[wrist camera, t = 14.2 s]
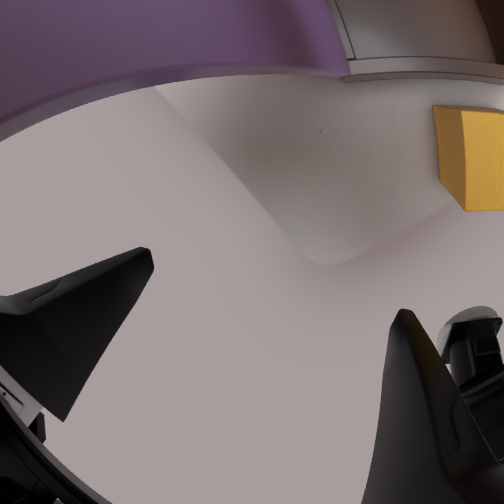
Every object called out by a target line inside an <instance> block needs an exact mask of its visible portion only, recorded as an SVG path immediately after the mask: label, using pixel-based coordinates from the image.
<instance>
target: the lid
mask: <svg viewBox="0 0 504 504" xmlns="http://www.w3.org/2000/svg"><path fill="white" fill-rule="evenodd" d="M252 74H292V75H312V76H324V77H335V78H337V77H343V76H350V75H351V71H350V68H349V64H348V61H347V58H346V54H345V51H344V48H343V45H342V42H341V39H340V36H339V33H338V30H337V27H336V25H335V22H334V19H333V17H332V14H331V11H330V9H329V6H328V4H327V1H326V0H0V142H1V141H3V140H5V139H6V138H8V137H10V136H12V135H14V134H16V133H18V132H20V131H22V130H24V129H26V128H28V127H30V126H32V125H34V124H36V123H39V122H41V121H43V120H45V119H48V118H50V117H52V116H55V115H57V114H60V113H62V112H65V111H68V110H70V109H73V108H76V107H78V106H81V105H84V104H87V103H90V102H93V101H97V100H99V99H103V98H106V97H110V96H113V95H117V94H121V93H125V92H129V91H132V90H136V89H141V88H146V87H151V86H156V85H161V84H166V83H172V82H178V81H185V80H192V79H200V78H208V77H219V76H232V75H252Z"/></svg>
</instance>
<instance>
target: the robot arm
mask: <svg viewBox="0 0 504 504" xmlns="http://www.w3.org/2000/svg"><path fill="white" fill-rule="evenodd" d="M153 271H154V264H153V260H152V255H151V251H150V250H149V249H147V248H144V247H138V248H135V249H133V250H130V251H127V252H124V253H122V254H119V255H116V256H114V257H111V258H108V259H106V260H103V261H100V262H98V263H95V264H93V265H90V266H87V267H85V268H82V269H80V270H77V271H75V272H72V273H70V274H67V275H65V276H63V277H60V278H57V279H55V280H52V281H50V282H47V283H45V284H42V285H39V286H37V287H34V288H31V289H28V290H25V291H22V292H20V293H17V294H14V295H10V296H0V504H112V503H111V502H109V501H107V500H106V499H105V498H103V497H102V496H101V495H99V494H98V493H97V492H95V491H94V490H93V489H91V488H90V487H89V486H88V485H86V484H85V483H84V482H83V481H81V480H80V479H79V478H78V477H77V476H76V475H74V474H73V473H72V472H71V471H70V470H69V469H68V468H66V467H65V466H64V465H63V464H62V463H61V462H60V461H59V460H58V459H57V458H56V457H55V456H53V454H52V453H51V452H50V451H49V450H48V449H47V448H46V447H45V446H44V445H43V443H44V441H45V440H46V434H45V421H44V414H42V412H41V409H42V408H43V407H44V408H46V409H47V410H48V411H49V412H51V413H52V414H53V415H54V416H56V417H57V418H58V419H59V420H61V421H62V422H64V421H65V419H66V418H67V415H68V414H69V412H70V410H71V408H72V406H73V404H74V403H75V401H76V399H77V397H78V395H79V394H80V392H81V390H82V388H83V387H84V385H85V383H86V381H87V379H88V378H89V376H90V374H91V372H92V371H93V369H94V368H95V366H96V364H97V363H98V361H99V359H100V358H101V356H102V354H103V353H104V351H105V350H106V348H107V346H108V345H109V343H110V342H111V340H112V338H113V337H114V335H115V334H116V332H117V330H118V329H119V328H120V326H121V324H122V323H123V321H124V320H125V318H126V317H127V315H128V314H129V312H130V311H131V309H132V308H133V306H134V305H135V303H136V302H137V300H138V298H139V296H140V295H141V293H142V291H143V289H144V287H145V286H146V284H147V282H148V280H149V278H150V277H151V275H152V273H153ZM502 323H503V321H502V318H501V317H497V318H490V319H482V320H474V321H464V322H456V323H453V324H452V325H451V328H450V331H449V335H448V338H447V341H446V343H445V346H444V349H443V352H442V355H441V356H440V355H439V353H438V351H437V349H436V348H435V346H434V344H433V343H432V341H431V339H430V338H429V336H428V335H427V333H426V331H425V330H424V328H423V327H422V325H421V323H420V322H419V320H418V319H417V317H416V316H415V314H414V313H413V311H411V310H408V309H400V310H399V311H398V313H397V315H396V317H395V319H394V321H393V323H392V325H391V327H390V331H389V338H388V345H387V352H386V358H385V364H384V371H383V380H382V393H381V402H380V412H379V420H378V427H377V434H376V440H375V446H374V452H373V458H372V462H371V467H370V471H369V476H368V481H367V484H366V489H365V492H364V495H363V499H362V503H361V504H504V364H503V361H502V357H501V353H500V351H501V350H500V346H499V342H498V339H497V334H498V332H499V330H500V328H501V325H502ZM445 364H450V369H451V374H450V372H449V371H448V369H447V367H446V365H445ZM57 498H58V499H59V500H60V501H59V500H57Z"/></svg>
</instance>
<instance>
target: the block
mask: <svg viewBox="0 0 504 504" xmlns="http://www.w3.org/2000/svg"><path fill="white" fill-rule="evenodd" d="M433 113H434V120H435V127H436V135H437V144H438V156H439V173H440V182H441V183H442V184H443V185H444V186H445V187H446V188H447V190H448V191H449V192H450V193H451V194H452V196H453V197H454V198H455V199H456V201H457V202H458V203H459V204H460V206H461V207H462V208H463V209H464V211H500V210H501V211H502V210H504V111H503V110H498V109H493V108H483V107H470V106H448V105H433Z"/></svg>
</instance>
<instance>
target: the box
mask: <svg viewBox="0 0 504 504" xmlns="http://www.w3.org/2000/svg"><path fill="white" fill-rule="evenodd" d="M326 1H327V4H328V6H329V9H330V11H331V14H332V17H333V19H334V22H335V25H336V27H337V30H338V33H339V36H340V39H341V42H342V45H343V48H344V51H345V54H346V58H347V61H348V64H349V68H350V71H351V75H350V76H343V77H344V80H345V82H346V83H352V82H361V81H371V80H384V79H406V78H436V79H457V80H469V81H479V82H487V83H494V84H500V85H504V0H326Z"/></svg>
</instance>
